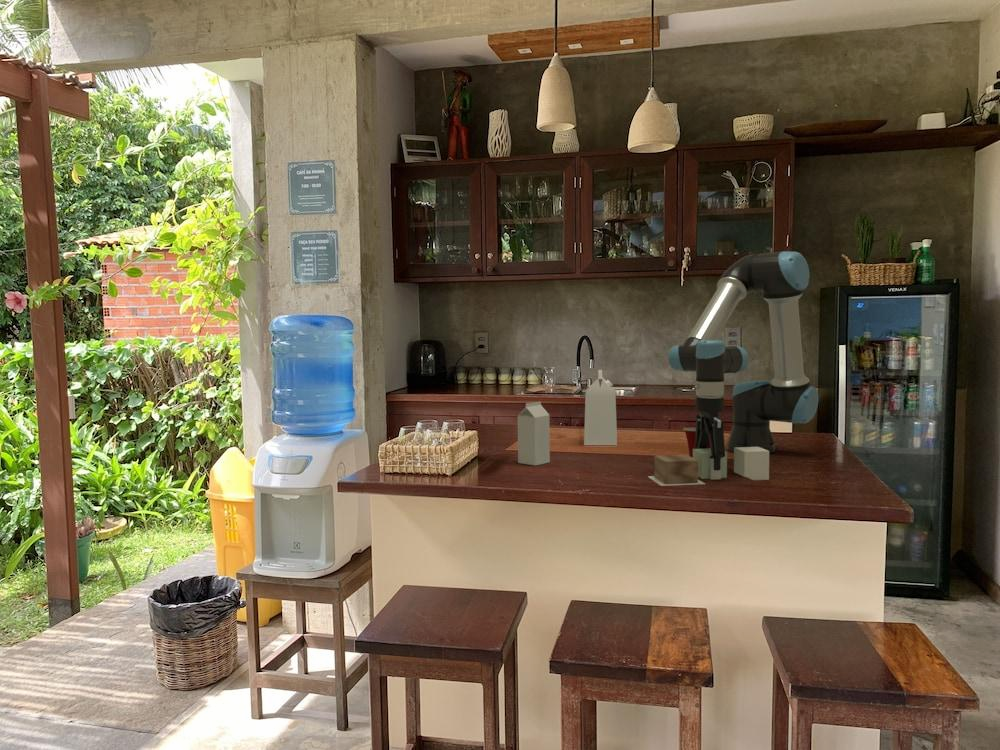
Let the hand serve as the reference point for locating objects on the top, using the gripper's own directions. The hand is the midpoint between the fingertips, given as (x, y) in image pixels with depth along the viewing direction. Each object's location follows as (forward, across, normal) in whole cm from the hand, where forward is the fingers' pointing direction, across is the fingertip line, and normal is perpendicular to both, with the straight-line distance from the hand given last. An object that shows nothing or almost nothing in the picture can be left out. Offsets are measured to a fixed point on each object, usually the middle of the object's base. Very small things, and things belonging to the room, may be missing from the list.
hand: (709, 478), depth 211 cm
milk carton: (+1, -32, -44) cm, 54 cm away
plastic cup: (0, -16, +4) cm, 17 cm away
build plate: (0, +4, -11) cm, 11 cm away
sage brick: (0, 0, 0) cm, 0 cm away
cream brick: (0, 0, +12) cm, 12 cm away
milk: (0, -64, -15) cm, 66 cm away
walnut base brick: (-1, +4, -11) cm, 12 cm away
